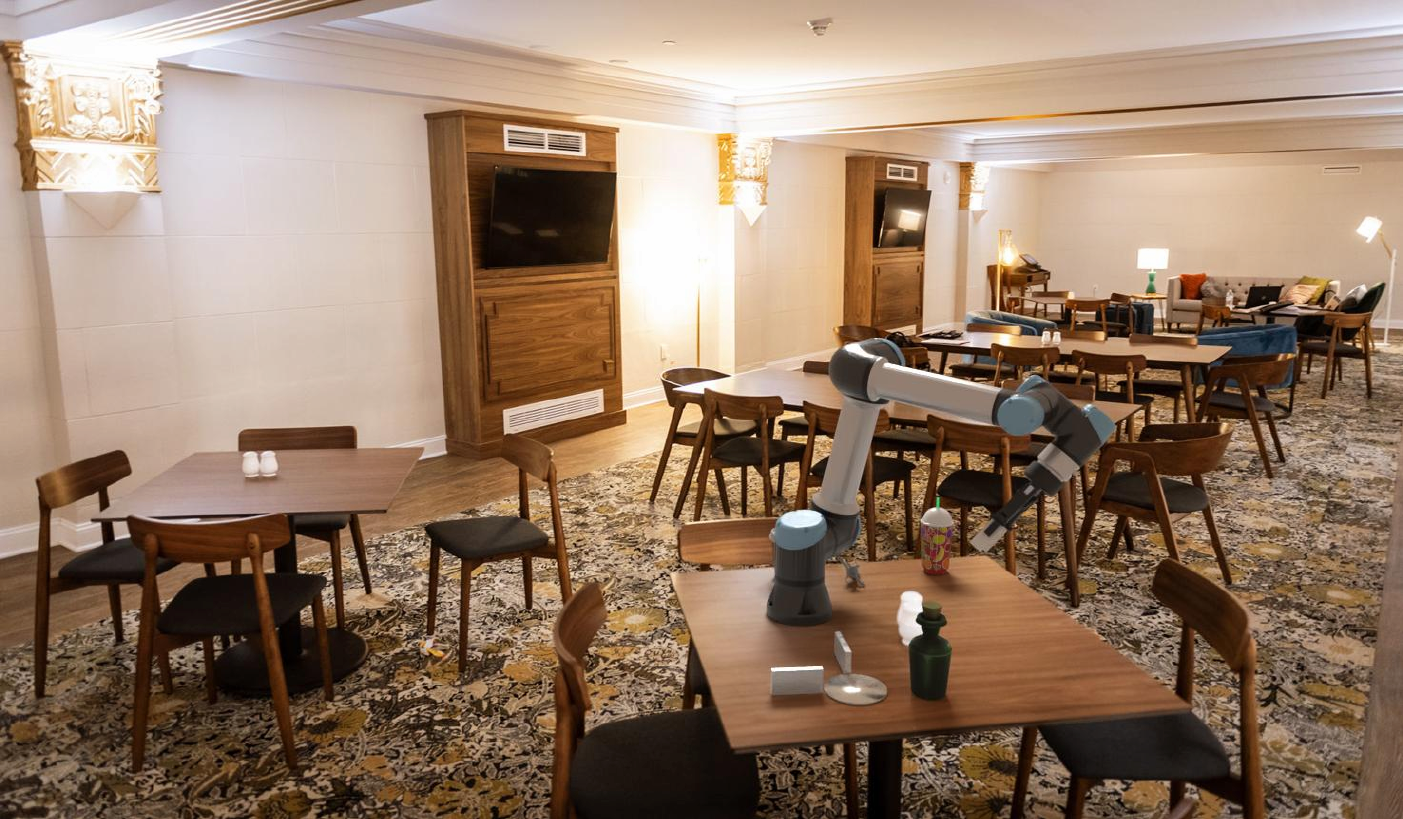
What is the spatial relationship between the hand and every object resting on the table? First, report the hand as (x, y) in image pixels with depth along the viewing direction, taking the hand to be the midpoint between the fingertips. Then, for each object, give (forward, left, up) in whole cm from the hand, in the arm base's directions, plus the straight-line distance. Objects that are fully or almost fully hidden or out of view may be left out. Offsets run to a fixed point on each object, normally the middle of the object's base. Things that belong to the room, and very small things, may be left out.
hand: (977, 547), depth 198 cm
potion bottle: (-1, -21, -24) cm, 32 cm away
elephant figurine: (-41, +25, -24) cm, 53 cm away
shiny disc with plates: (-16, -27, -24) cm, 40 cm away
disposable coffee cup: (-56, +19, -24) cm, 64 cm away
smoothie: (-26, +44, -24) cm, 56 cm away
